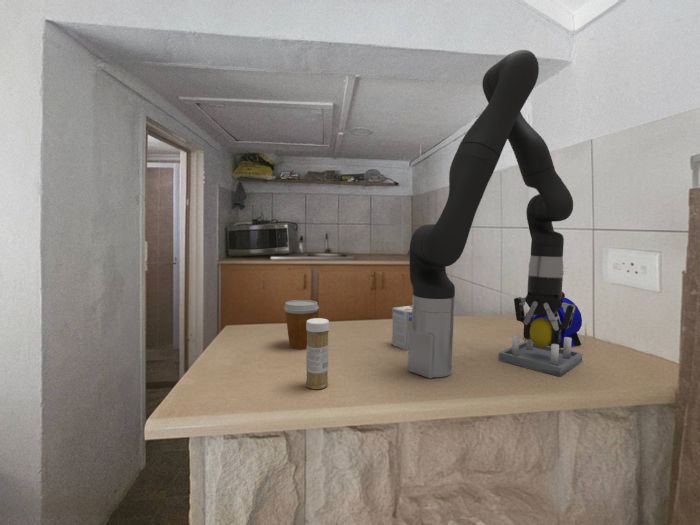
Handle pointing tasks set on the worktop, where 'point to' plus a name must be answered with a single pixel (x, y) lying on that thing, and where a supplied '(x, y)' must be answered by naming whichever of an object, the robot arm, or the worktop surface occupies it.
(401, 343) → the light bulb box
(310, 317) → the disposable coffee cup
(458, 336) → the worktop surface
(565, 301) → the alarm clock
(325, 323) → the sprinkles bottle
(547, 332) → the lemon
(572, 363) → the tray
